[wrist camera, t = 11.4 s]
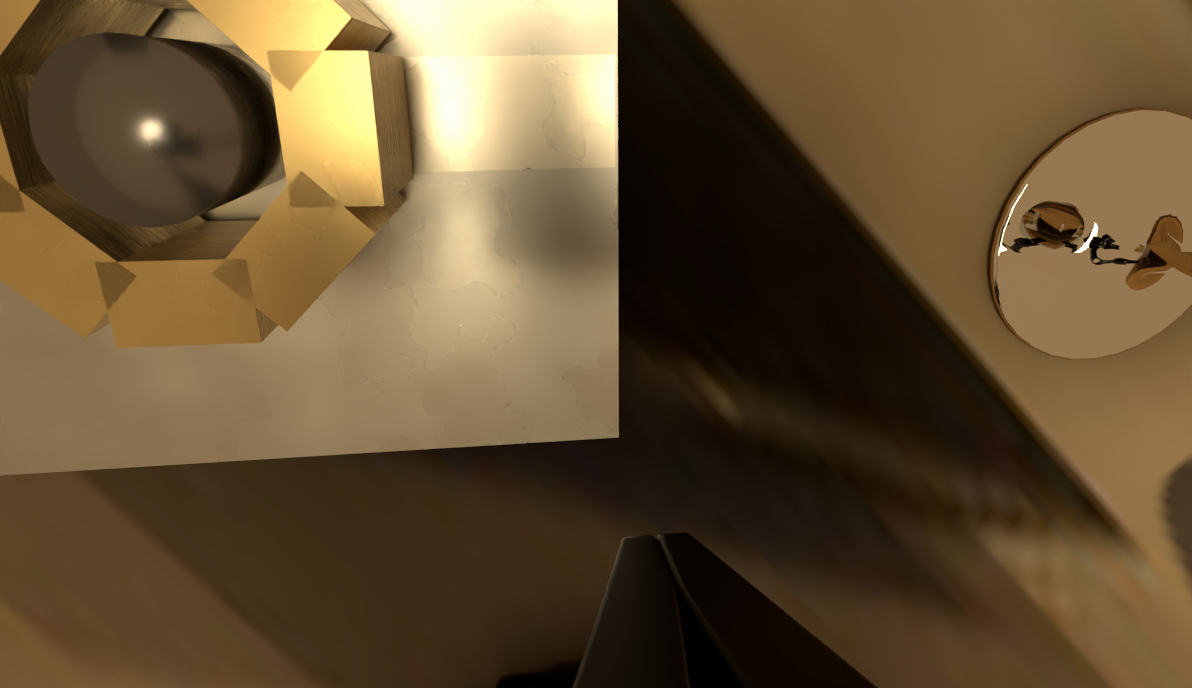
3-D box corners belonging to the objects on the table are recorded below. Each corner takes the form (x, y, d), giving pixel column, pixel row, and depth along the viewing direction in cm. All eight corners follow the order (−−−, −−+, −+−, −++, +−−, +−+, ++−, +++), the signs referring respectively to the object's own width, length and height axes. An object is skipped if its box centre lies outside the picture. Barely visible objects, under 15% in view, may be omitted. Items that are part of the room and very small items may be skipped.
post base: (613, 418, 22) (646, 537, 16) (-17, 456, 20) (-224, 602, 14) (609, -329, 15) (661, -563, 10) (-316, -363, 14) (-893, -668, 8)
